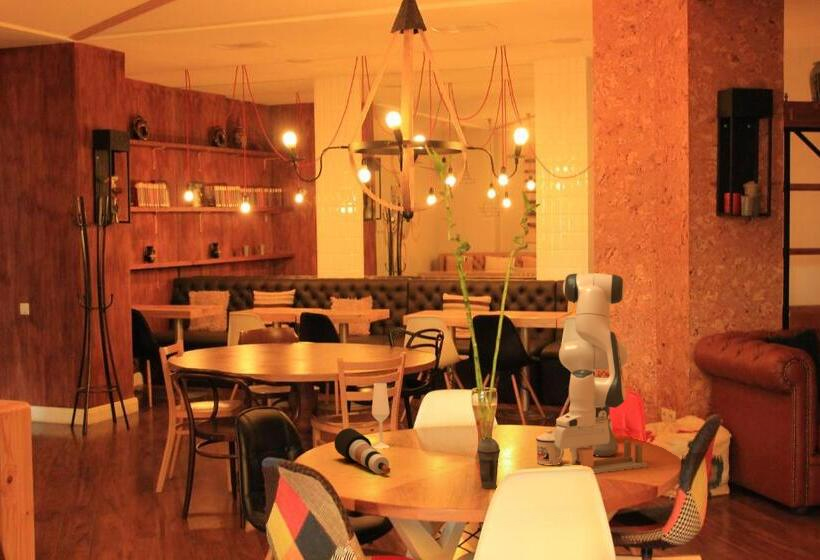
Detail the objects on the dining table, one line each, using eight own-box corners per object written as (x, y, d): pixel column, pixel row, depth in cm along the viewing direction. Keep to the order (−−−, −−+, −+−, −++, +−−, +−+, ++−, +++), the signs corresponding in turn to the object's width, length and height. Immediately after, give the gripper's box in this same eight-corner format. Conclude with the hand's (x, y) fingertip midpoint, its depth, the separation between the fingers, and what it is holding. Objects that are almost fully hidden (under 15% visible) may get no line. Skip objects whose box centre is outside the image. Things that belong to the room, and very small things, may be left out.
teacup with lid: (531, 462, 366) (530, 429, 365) (551, 459, 370) (551, 426, 370) (552, 469, 355) (552, 435, 355) (573, 465, 360) (573, 431, 360)
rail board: (563, 467, 356) (563, 447, 356) (625, 460, 367) (625, 439, 367) (583, 475, 346) (583, 453, 345) (647, 466, 356) (647, 445, 356)
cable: (381, 491, 347) (369, 466, 343) (341, 460, 377) (329, 437, 374) (406, 474, 350) (394, 450, 347) (364, 445, 380) (353, 422, 377)
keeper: (572, 464, 355) (571, 447, 355) (582, 463, 356) (581, 446, 356) (583, 468, 349) (583, 451, 348) (593, 467, 350) (593, 449, 350)
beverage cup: (499, 483, 336) (498, 422, 335) (501, 489, 328) (501, 426, 327) (476, 484, 335) (475, 422, 334) (478, 489, 328) (477, 426, 327)
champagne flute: (389, 448, 392) (388, 385, 391) (371, 448, 392) (370, 385, 391) (390, 445, 399) (389, 382, 398) (372, 445, 399) (371, 382, 398)
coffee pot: (605, 450, 384) (605, 409, 384) (625, 455, 374) (625, 414, 373) (557, 456, 375) (556, 415, 374) (576, 462, 364) (575, 419, 364)
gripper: (602, 414, 359) (602, 454, 360) (551, 419, 351) (552, 460, 351) (613, 417, 353) (613, 458, 354) (562, 422, 345) (562, 464, 345)
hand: (582, 459), depth 352 cm, fingers closed on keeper, 4 cm apart
